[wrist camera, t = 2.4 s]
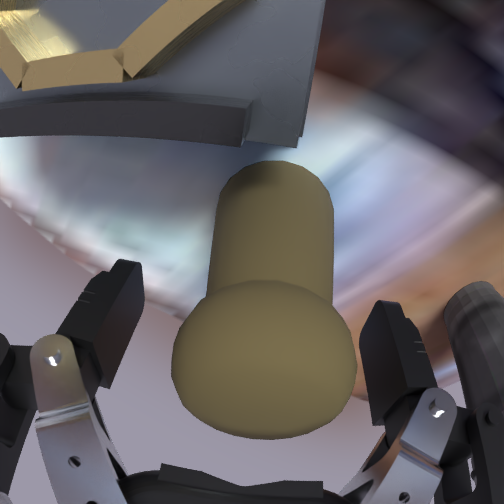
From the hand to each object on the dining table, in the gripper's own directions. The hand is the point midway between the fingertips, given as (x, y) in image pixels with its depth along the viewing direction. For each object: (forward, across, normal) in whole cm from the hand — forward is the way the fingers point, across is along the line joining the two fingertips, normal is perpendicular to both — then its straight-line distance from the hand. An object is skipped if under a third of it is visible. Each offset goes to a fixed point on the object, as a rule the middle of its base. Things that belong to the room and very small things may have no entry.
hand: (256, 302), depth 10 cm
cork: (+7, 0, 0) cm, 7 cm away
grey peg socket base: (+7, +7, -12) cm, 15 cm away
